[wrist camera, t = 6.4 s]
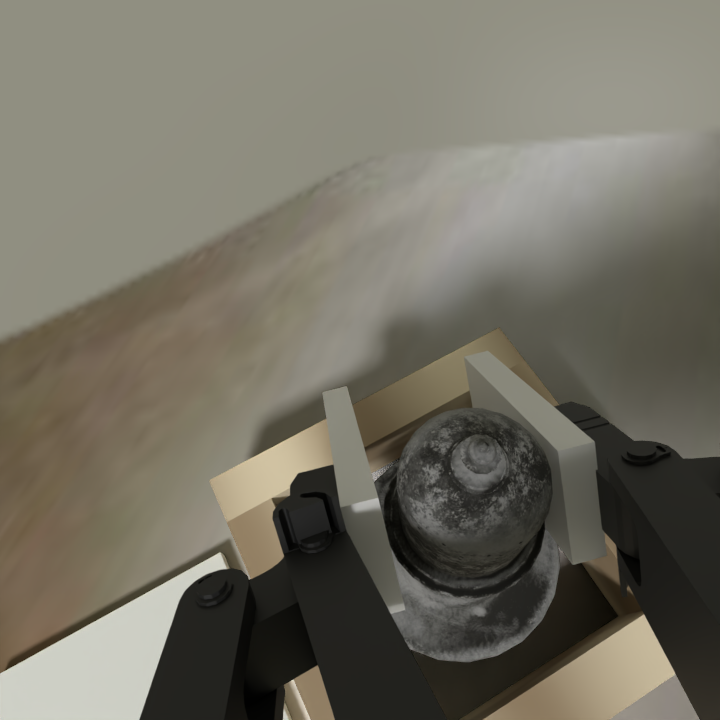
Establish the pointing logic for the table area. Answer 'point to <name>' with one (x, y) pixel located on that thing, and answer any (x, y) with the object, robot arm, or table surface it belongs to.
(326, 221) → the table surface
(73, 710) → the white mat
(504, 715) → the wooden square frame
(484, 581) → the dark chess piece
